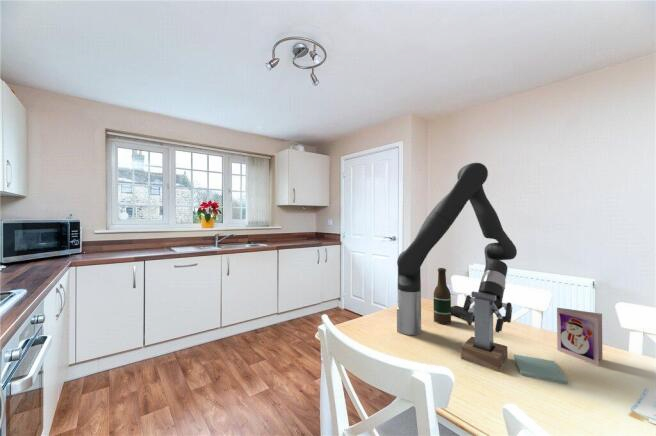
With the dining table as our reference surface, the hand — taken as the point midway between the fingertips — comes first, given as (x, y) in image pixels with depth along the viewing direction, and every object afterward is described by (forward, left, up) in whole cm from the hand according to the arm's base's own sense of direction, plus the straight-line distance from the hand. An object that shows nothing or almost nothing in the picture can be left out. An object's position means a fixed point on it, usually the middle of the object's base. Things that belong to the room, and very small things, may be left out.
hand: (482, 327), depth 90 cm
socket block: (0, +1, -11) cm, 11 cm away
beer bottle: (-14, +31, -11) cm, 36 cm away
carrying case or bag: (-5, +43, -11) cm, 45 cm away
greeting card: (+30, +16, -11) cm, 36 cm away
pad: (+15, +1, -11) cm, 18 cm away
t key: (0, +1, -11) cm, 11 cm away
